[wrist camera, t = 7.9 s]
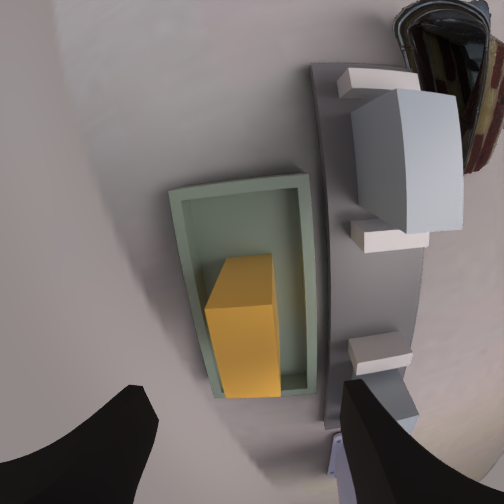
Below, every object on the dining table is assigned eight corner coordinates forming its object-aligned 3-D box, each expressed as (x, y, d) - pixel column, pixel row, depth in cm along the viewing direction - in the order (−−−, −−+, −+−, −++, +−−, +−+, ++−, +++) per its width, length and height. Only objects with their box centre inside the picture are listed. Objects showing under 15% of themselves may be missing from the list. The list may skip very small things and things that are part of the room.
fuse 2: (379, 400, 19) (398, 458, 13) (348, 405, 19) (362, 467, 13) (389, 353, 17) (419, 414, 12) (353, 359, 18) (376, 425, 12)
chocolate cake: (492, 199, 15) (576, 83, 4) (439, 212, 14) (549, 46, 3) (425, 112, 19) (472, 1, 9) (363, 108, 18) (407, -34, 7)
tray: (313, 374, 19) (316, 393, 18) (218, 379, 20) (214, 398, 18) (304, 172, 15) (308, 174, 13) (179, 187, 16) (168, 191, 14)
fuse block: (388, 409, 21) (399, 438, 17) (323, 421, 21) (328, 452, 18) (405, 72, 13) (432, 57, 9) (309, 68, 13) (318, 46, 10)
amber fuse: (279, 328, 18) (280, 396, 12) (238, 331, 18) (225, 398, 12) (272, 253, 16) (272, 304, 11) (226, 257, 17) (204, 309, 11)
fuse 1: (401, 203, 14) (462, 229, 9) (358, 205, 15) (406, 234, 9) (394, 113, 13) (455, 96, 7) (350, 112, 13) (396, 88, 7)
